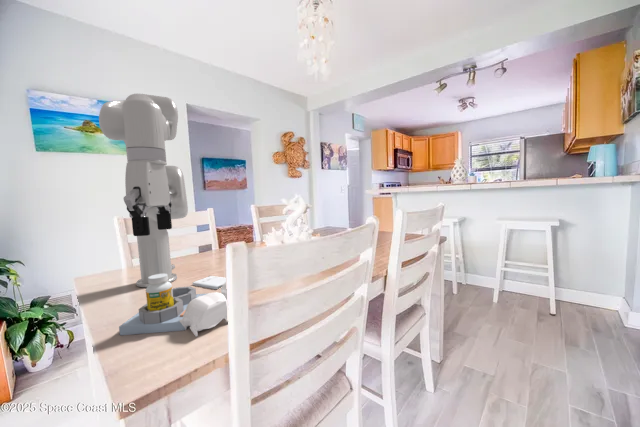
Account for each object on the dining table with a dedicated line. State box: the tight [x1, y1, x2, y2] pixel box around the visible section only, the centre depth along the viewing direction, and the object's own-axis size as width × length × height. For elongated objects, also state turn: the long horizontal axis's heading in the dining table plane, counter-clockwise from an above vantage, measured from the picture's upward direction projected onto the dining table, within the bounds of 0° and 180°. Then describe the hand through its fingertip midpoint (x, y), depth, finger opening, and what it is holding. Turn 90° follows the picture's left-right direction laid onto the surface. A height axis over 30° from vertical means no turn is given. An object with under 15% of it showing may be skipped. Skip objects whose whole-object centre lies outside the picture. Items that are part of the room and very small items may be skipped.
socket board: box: [118, 286, 210, 336], centre depth 67 cm, size 17×14×4 cm
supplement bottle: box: [145, 274, 174, 311], centre depth 63 cm, size 5×5×10 cm
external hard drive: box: [192, 275, 227, 290], centre depth 91 cm, size 2×8×12 cm
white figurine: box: [179, 282, 228, 337], centre depth 63 cm, size 9×8×15 cm
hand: (154, 232), depth 62 cm, fingers open, 9 cm apart
